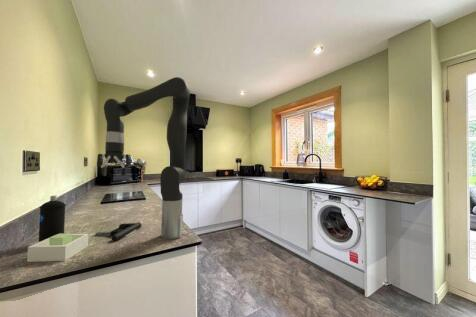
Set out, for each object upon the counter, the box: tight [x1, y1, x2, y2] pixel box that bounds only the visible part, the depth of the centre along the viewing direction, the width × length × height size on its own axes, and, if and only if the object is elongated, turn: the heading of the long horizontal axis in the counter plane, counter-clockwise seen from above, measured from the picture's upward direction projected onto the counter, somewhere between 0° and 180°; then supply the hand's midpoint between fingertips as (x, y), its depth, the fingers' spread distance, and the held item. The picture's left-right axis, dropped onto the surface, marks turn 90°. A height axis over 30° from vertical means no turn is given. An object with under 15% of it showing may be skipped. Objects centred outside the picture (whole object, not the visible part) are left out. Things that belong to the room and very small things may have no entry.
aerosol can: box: [38, 195, 67, 242], centre depth 82 cm, size 8×8×20 cm
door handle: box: [94, 221, 142, 242], centre depth 95 cm, size 3×20×16 cm
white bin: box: [26, 233, 89, 263], centre depth 73 cm, size 12×12×5 cm
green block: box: [49, 232, 73, 246], centre depth 73 cm, size 4×4×6 cm
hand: (113, 175), depth 93 cm, fingers open, 8 cm apart
